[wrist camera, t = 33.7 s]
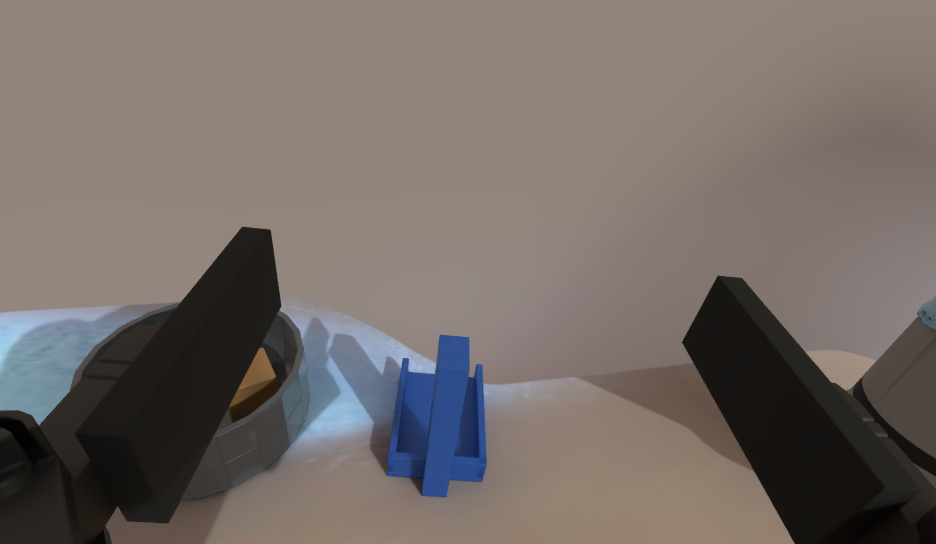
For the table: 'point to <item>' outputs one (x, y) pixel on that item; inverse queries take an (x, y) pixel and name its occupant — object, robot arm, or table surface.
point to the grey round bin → (254, 436)
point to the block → (254, 387)
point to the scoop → (440, 421)
